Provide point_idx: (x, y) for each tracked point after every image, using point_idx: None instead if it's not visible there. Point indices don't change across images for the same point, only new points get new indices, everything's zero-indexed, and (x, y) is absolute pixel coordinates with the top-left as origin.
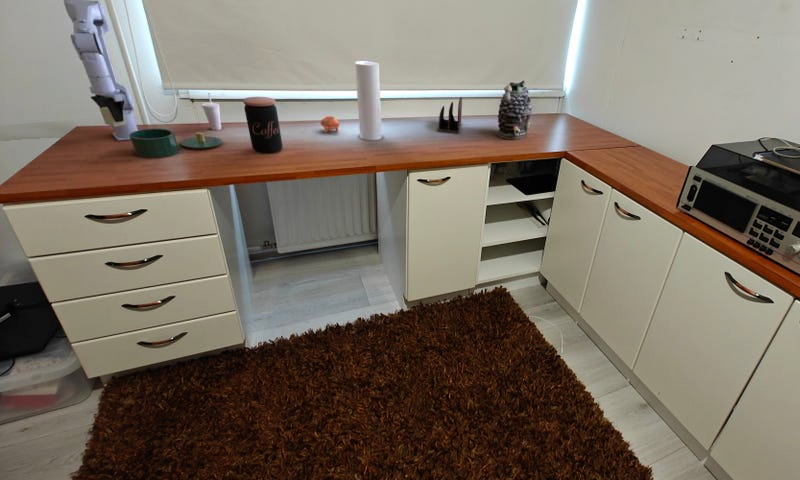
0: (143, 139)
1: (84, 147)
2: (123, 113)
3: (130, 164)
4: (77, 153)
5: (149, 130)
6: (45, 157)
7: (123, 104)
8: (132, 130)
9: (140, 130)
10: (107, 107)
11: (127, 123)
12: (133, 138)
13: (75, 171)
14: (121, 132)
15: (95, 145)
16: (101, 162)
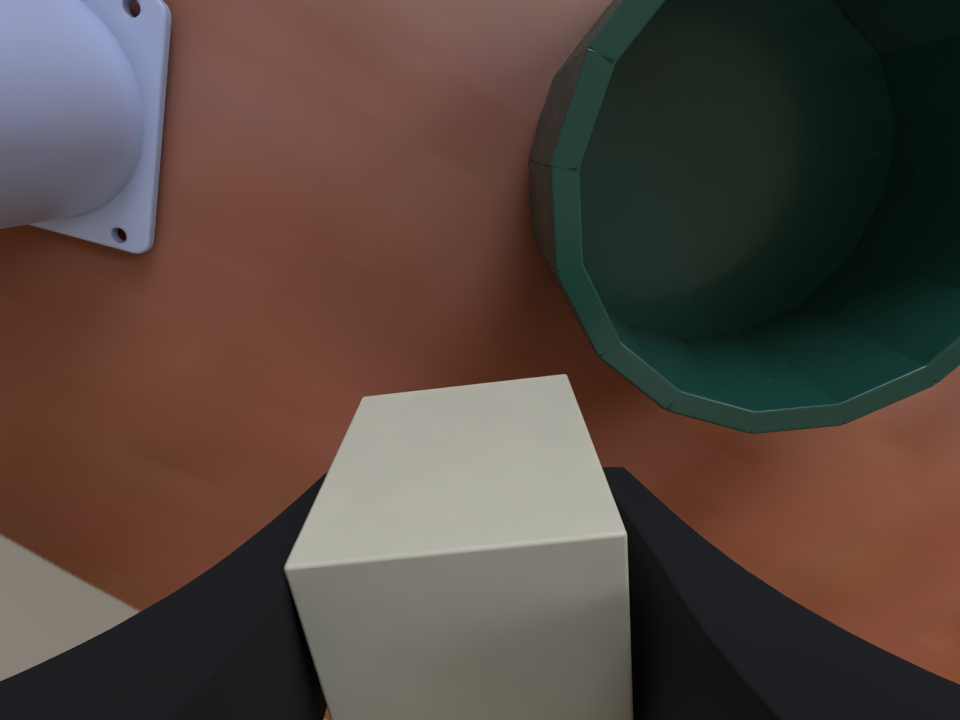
0: (927, 387)
1: (205, 502)
2: (598, 471)
3: (804, 479)
4: None
5: (604, 95)
6: None
7: (919, 674)
8: (87, 76)
9: (578, 216)
10: (384, 695)
11: (565, 378)
12: (786, 427)
13: None
14: (80, 197)
15: (192, 433)
16: None
